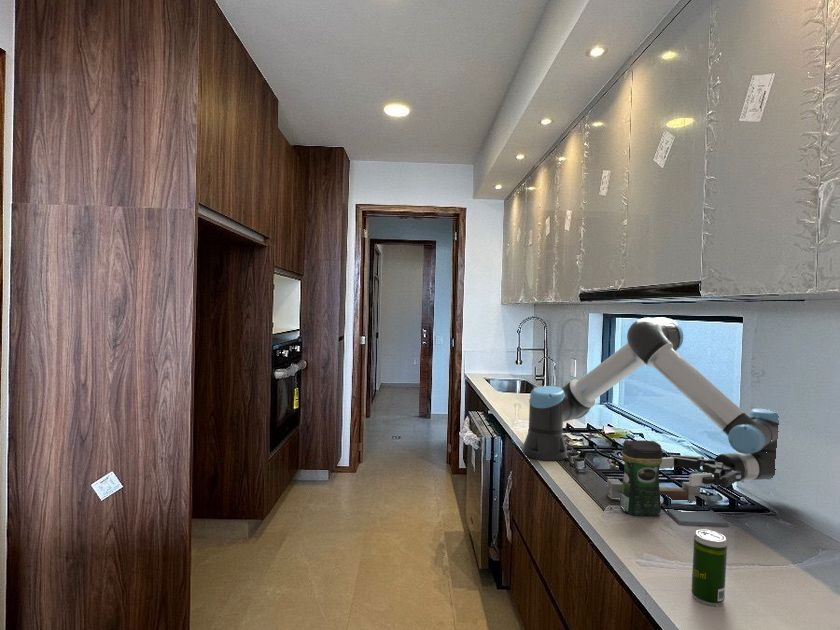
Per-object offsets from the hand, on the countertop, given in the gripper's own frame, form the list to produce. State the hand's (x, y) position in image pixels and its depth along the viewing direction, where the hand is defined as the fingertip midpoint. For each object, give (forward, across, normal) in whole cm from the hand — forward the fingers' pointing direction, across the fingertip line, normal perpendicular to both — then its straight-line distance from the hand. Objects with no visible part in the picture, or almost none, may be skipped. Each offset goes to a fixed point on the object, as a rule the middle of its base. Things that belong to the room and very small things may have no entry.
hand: (670, 471), depth 142 cm
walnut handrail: (0, +7, -10) cm, 12 cm away
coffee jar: (+9, 0, -10) cm, 14 cm away
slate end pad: (-3, -5, -10) cm, 11 cm away
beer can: (+24, -38, -10) cm, 46 cm away
